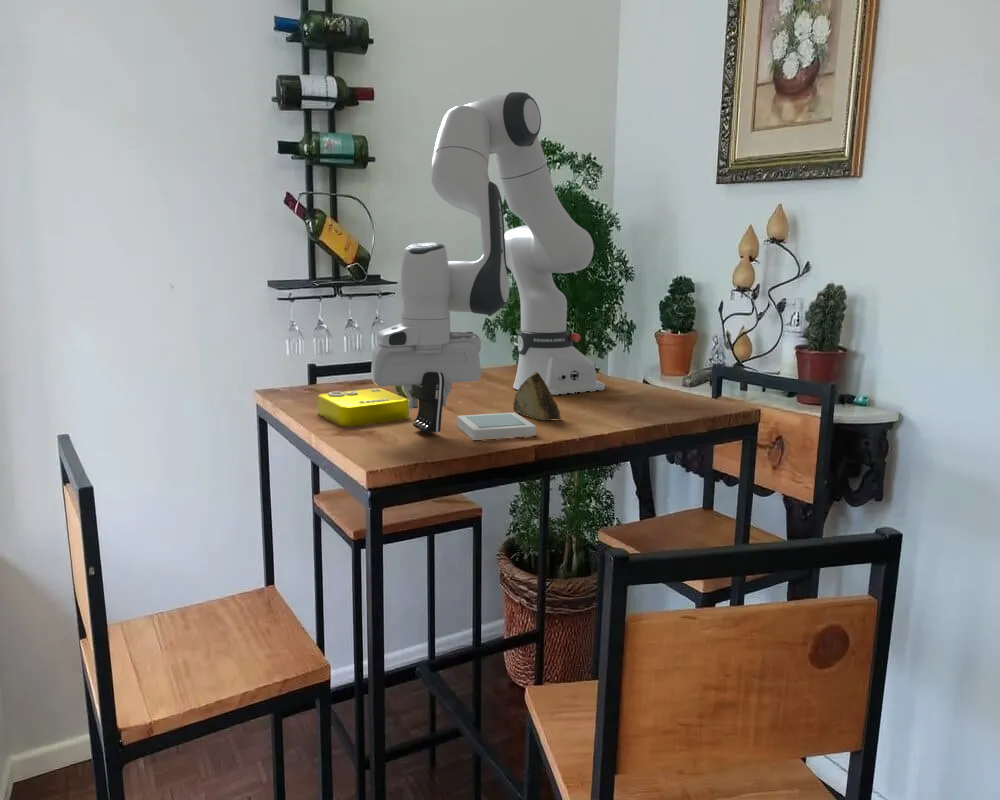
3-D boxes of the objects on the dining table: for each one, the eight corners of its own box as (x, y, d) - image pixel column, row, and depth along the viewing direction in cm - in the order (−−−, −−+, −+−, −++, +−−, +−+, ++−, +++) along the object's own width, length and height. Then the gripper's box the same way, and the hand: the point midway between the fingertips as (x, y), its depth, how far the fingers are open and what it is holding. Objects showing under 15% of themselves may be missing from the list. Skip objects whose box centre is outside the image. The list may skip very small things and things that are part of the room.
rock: (499, 401, 164) (510, 404, 155) (522, 368, 165) (535, 369, 155) (539, 430, 167) (552, 435, 157) (561, 397, 168) (576, 400, 158)
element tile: (342, 429, 150) (342, 405, 149) (315, 414, 162) (314, 392, 162) (412, 420, 158) (412, 397, 157) (381, 406, 171) (380, 385, 170)
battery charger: (407, 426, 148) (410, 366, 146) (425, 425, 150) (429, 366, 148) (422, 434, 142) (427, 372, 140) (441, 433, 144) (445, 372, 142)
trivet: (514, 422, 156) (515, 411, 155) (535, 436, 145) (536, 425, 144) (456, 425, 152) (456, 415, 152) (473, 441, 141) (473, 429, 141)
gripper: (475, 329, 149) (475, 400, 152) (368, 332, 143) (370, 406, 145) (485, 333, 143) (485, 407, 146) (373, 337, 137) (376, 414, 140)
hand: (427, 406), depth 146 cm, fingers closed on battery charger, 4 cm apart
